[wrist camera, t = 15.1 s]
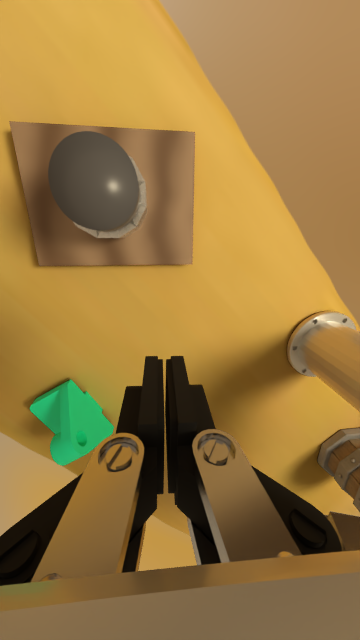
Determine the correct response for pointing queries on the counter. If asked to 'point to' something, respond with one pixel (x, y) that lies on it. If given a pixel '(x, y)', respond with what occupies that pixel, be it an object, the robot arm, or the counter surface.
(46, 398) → the camera mount
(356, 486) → the tankard
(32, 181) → the pipe flange plate
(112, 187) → the grey sphere
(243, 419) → the counter surface
